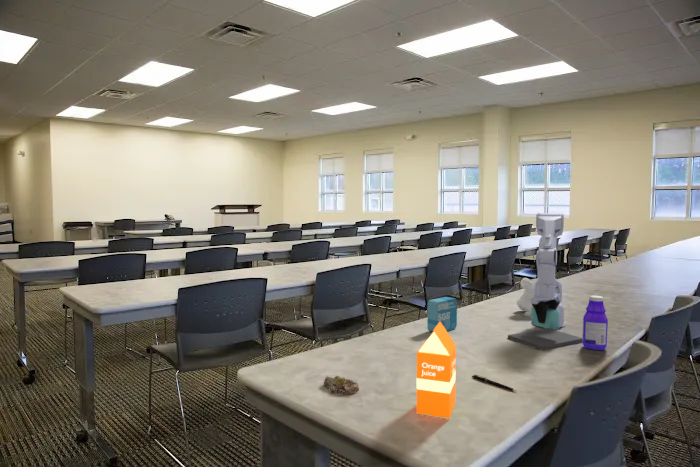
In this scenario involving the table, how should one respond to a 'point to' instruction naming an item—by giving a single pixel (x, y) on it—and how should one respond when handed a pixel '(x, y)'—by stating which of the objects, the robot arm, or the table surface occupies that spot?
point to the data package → (442, 313)
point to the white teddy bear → (526, 294)
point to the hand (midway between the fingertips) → (545, 321)
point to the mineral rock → (340, 385)
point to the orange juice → (436, 374)
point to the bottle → (595, 324)
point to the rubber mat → (545, 338)
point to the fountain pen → (492, 382)
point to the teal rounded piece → (551, 318)
